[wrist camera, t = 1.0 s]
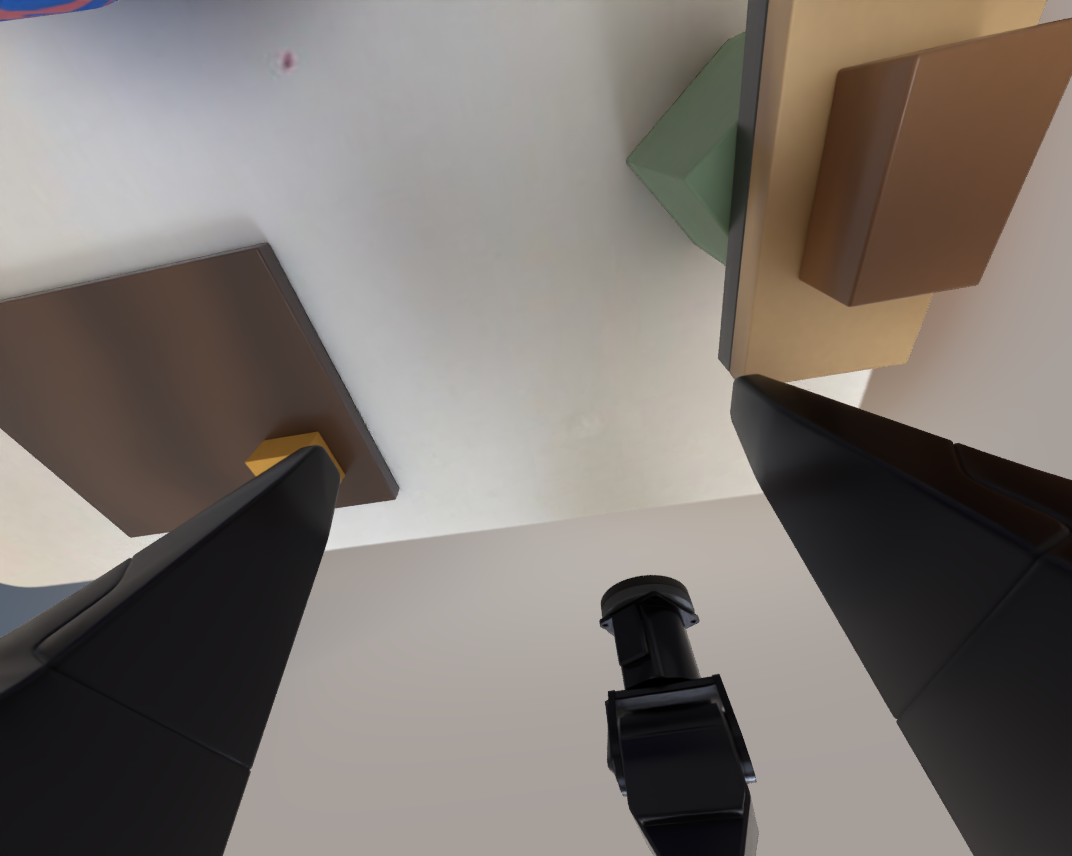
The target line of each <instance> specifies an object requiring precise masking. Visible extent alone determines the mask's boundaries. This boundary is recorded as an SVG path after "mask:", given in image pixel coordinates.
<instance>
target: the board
mask: <svg viewBox="0 0 1072 856" xmlns="http://www.w3.org/2000/svg"><path fill="white" fill-rule="evenodd" d="M0 428H1V429H2V430H3V431H4V432H5V433H7V434H8V435H9V436H10V437H11V438H13V439H14V440H15V441H16V442H17V443H18V444H20V445H21V446H22V447H23V448H24V449H26V450H27V451H28V452H29V453H30V454H32V455H33V456H34V457H35V458H36V459H37V460H39V461H40V462H41V463H42V464H43V465H45V466H46V467H47V468H48V469H49V470H51V471H52V472H53V473H54V474H55V475H56V476H58V477H59V478H60V479H61V480H62V481H64V482H65V483H66V484H67V485H68V486H70V487H71V488H72V489H73V490H74V491H75V492H77V493H78V494H79V495H80V496H81V497H83V498H84V499H85V500H86V501H87V502H89V503H90V504H91V505H92V506H93V507H94V508H96V509H97V510H98V511H99V512H100V513H102V514H103V515H104V516H105V517H106V518H108V519H109V520H110V521H111V522H112V523H113V524H115V525H116V526H117V527H118V528H119V529H121V530H122V531H123V532H124V533H125V534H127V535H128V536H129V537H131V538H132V537H139V536H146V535H153V534H160V533H167V532H171V531H172V530H174V529H175V528H177V527H179V526H180V525H182V524H183V523H185V522H186V521H188V520H189V519H191V518H193V517H194V516H196V515H197V514H199V513H200V512H202V511H203V510H205V509H206V508H208V507H210V506H211V505H213V504H214V503H216V502H217V501H219V500H220V499H222V498H224V497H225V496H227V495H228V494H230V493H231V492H233V491H234V490H236V489H237V488H239V487H241V486H242V485H244V484H245V483H247V482H248V481H250V480H251V479H253V478H255V477H256V476H255V475H254V473H253V472H252V471H251V470H250V468H249V467H248V466H247V465H246V463H245V461H246V460H247V459H248V458H249V457H250V456H251V454H252V453H253V452H254V451H255V450H256V449H257V448H258V446H259V445H260V444H261V443H262V442H263V441H264V440H270V439H276V438H282V437H288V436H294V435H300V434H306V433H312V432H319V433H320V435H321V437H322V438H323V440H324V441H325V443H326V445H327V446H328V448H329V450H330V451H331V453H332V454H333V456H334V458H335V459H336V461H337V462H338V464H339V466H340V467H341V469H342V470H343V472H344V474H345V476H344V478H343V480H342V482H341V484H340V487H339V491H338V496H337V500H336V505H335V508H340V507H347V506H354V505H361V504H368V503H375V502H382V501H389V500H395V499H396V497H397V495H398V492H399V488H398V486H397V484H396V482H395V480H394V478H393V477H392V475H391V473H390V471H389V469H388V467H387V465H386V463H385V462H384V460H383V458H382V456H381V454H380V452H379V450H378V448H377V447H376V445H375V443H374V441H373V439H372V437H371V435H370V433H369V432H368V430H367V428H366V426H365V424H364V422H363V420H362V418H361V417H360V415H359V413H358V411H357V409H356V407H355V405H354V403H353V402H352V400H351V398H350V396H349V394H348V392H347V390H346V388H345V386H344V385H343V383H342V381H341V379H340V377H339V375H338V373H337V371H336V370H335V368H334V366H333V364H332V362H331V360H330V358H329V356H328V355H327V353H326V351H325V349H324V347H323V345H322V343H321V341H320V340H319V338H318V336H317V334H316V332H315V330H314V328H313V326H312V325H311V323H310V321H309V319H308V317H307V315H306V313H305V311H304V310H303V308H302V306H301V304H300V302H299V300H298V298H297V296H296V295H295V293H294V291H293V289H292V287H291V285H290V283H289V281H288V280H287V278H286V276H285V274H284V272H283V270H282V268H281V266H280V264H279V263H278V261H277V259H276V257H275V255H274V253H273V251H272V249H271V248H270V246H269V244H268V243H263V244H259V245H254V246H250V247H245V248H240V249H236V250H231V251H227V252H222V253H217V254H213V255H208V256H203V257H199V258H194V259H190V260H185V261H180V262H176V263H171V264H167V265H162V266H157V267H153V268H148V269H143V270H139V271H134V272H130V273H125V274H120V275H116V276H111V277H107V278H102V279H97V280H93V281H88V282H83V283H79V284H74V285H70V286H65V287H60V288H56V289H51V290H47V291H42V292H37V293H33V294H28V295H23V296H19V297H14V298H10V299H5V300H0Z"/></svg>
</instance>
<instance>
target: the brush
mask: <svg viewBox="0 0 1072 856" xmlns="http://www.w3.org/2000/svg"><path fill="white" fill-rule="evenodd" d="M1046 2H1047V0H748V10H747V22H746V34H745V46H744V57H743V69H742V81H741V93H740V105H739V117H738V128H737V140H736V152H735V164H734V176H733V188H732V199H731V211H730V223H729V235H728V247H727V259H726V270H725V282H724V294H723V306H722V318H721V330H720V341H719V353H718V359H719V360H720V362H721V363H722V364H723V365H724V366H725V368H726V369H727V370H728V371H729V372H730V374H731V375H732V377H733V378H734V379H736V378H737V377H739V376H744V375H750V374H761V375H763V376H766V377H769V378H772V379H775V380H778V381H781V382H790V381H797V380H803V379H809V378H816V377H822V376H828V375H835V374H841V373H847V372H854V371H860V370H866V369H873V368H879V367H885V366H891V365H898V364H904V363H907V361H908V359H909V356H910V353H911V351H912V348H913V346H914V343H915V340H916V338H917V335H918V333H919V330H920V328H921V325H922V323H923V320H924V317H925V315H926V312H927V309H928V307H929V304H930V302H931V299H932V297H933V294H934V293H935V292H941V291H947V290H952V289H959V288H964V287H970V286H976V285H978V284H979V282H980V280H981V278H982V276H983V273H984V271H985V269H986V267H987V264H988V262H989V260H990V258H991V255H992V253H993V251H994V249H995V246H996V244H997V242H998V240H999V237H1000V235H1001V233H1002V231H1003V229H1004V226H1005V224H1006V222H1007V219H1008V217H1009V215H1010V213H1011V211H1012V208H1013V206H1014V204H1015V201H1016V199H1017V197H1018V195H1019V193H1020V190H1021V188H1022V186H1023V184H1024V181H1025V179H1026V177H1027V175H1028V172H1029V170H1030V168H1031V166H1032V164H1033V161H1034V159H1035V156H1036V155H1037V152H1038V150H1039V148H1040V145H1041V143H1042V141H1043V139H1044V137H1045V134H1046V132H1047V130H1048V128H1049V125H1050V123H1051V121H1052V119H1053V116H1054V114H1055V112H1056V110H1057V107H1058V105H1059V103H1060V101H1061V98H1062V96H1063V94H1064V91H1065V90H1066V87H1067V85H1068V83H1069V81H1070V78H1071V76H1072V18H1068V19H1063V20H1058V21H1053V22H1049V23H1044V24H1039V25H1038V23H1039V20H1040V18H1041V15H1042V13H1043V10H1044V7H1045V5H1046Z"/></svg>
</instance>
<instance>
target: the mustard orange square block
mask: <svg viewBox="0 0 1072 856" xmlns="http://www.w3.org/2000/svg"><path fill="white" fill-rule="evenodd" d="M313 445H320V446H322V447H324V448H325V450H326V451H327V453H328V454H329V456H330V457H331V459H332V461H333V462H334V464H335V465H336V467H337V469H338V470H339V473H340V477H341V482H342V480H343V478H344V476H345V474H344V472H343V470H342V469H341V467H340V466H339V464H338V462H337V461H336V459H335V458H334V456H333V454H332V453H331V451H330V450H329V448H328V446H327V445H326V443H325V441H324V440H323V438H322V437H321V435H320V433H319V432H312V433H306V434H300V435H294V436H288V437H282V438H276V439H270V440H264V441H263V442H262V443H261V444H260V445H259V446H258V448H257V449H256V450H255V451H254V452H253V453H252V454H251V456H250V457H249V458H248V459H247V460H246V461H245V463H246V465H247V466H248V467H249V468H250V470H251V471H252V472H253V473H254V475H255V476H258V475H259V474H261V473H262V472H264V471H265V470H267V469H268V468H270V467H272V466H273V465H275V464H276V463H278V462H279V461H281V460H282V459H284V458H286V457H287V456H289V455H290V454H292V453H293V452H295V451H296V450H298V449H300V448H302V447H306V446H313ZM341 482H340V484H341Z"/></svg>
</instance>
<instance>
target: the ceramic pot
mask: <svg viewBox="0 0 1072 856" xmlns="http://www.w3.org/2000/svg"><path fill="white" fill-rule="evenodd" d="M115 1H117V0H0V21H7V20H15V19H22V18H30V17H37V16H45V15H53V14H60V13H68V12H75V11H83V10H89V9H95V8H99V7H103V6H106V5H109V4H111V3H113V2H115Z"/></svg>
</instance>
